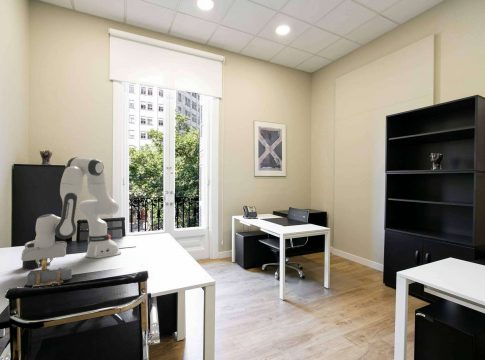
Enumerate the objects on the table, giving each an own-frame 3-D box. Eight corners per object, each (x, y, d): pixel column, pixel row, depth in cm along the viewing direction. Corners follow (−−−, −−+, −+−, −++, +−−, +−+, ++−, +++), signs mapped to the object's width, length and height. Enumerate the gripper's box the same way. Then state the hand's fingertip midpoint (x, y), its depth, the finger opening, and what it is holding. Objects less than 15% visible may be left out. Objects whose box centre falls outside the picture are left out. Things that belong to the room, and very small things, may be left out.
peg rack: (64, 278, 134) (64, 267, 134) (62, 283, 128) (63, 271, 128) (35, 282, 128) (36, 270, 128) (32, 288, 121) (32, 275, 121)
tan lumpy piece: (49, 275, 137) (49, 268, 137) (47, 280, 131) (47, 272, 131) (30, 278, 133) (30, 270, 133) (27, 283, 127) (27, 275, 127)
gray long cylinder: (71, 276, 135) (72, 267, 135) (71, 279, 131) (71, 269, 131) (28, 282, 125) (29, 272, 125) (26, 285, 121) (26, 275, 121)
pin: (47, 269, 146) (47, 256, 146) (46, 271, 144) (47, 257, 144) (41, 270, 145) (42, 256, 145) (40, 272, 142) (41, 258, 142)
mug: (50, 263, 156) (51, 249, 156) (30, 270, 144) (30, 254, 144) (39, 262, 158) (39, 248, 158) (18, 268, 147) (18, 253, 147)
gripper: (67, 239, 152) (66, 262, 152) (23, 242, 142) (22, 267, 142) (66, 241, 147) (65, 265, 147) (20, 245, 136) (20, 270, 136)
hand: (44, 266), depth 144 cm, fingers closed on pin, 3 cm apart
